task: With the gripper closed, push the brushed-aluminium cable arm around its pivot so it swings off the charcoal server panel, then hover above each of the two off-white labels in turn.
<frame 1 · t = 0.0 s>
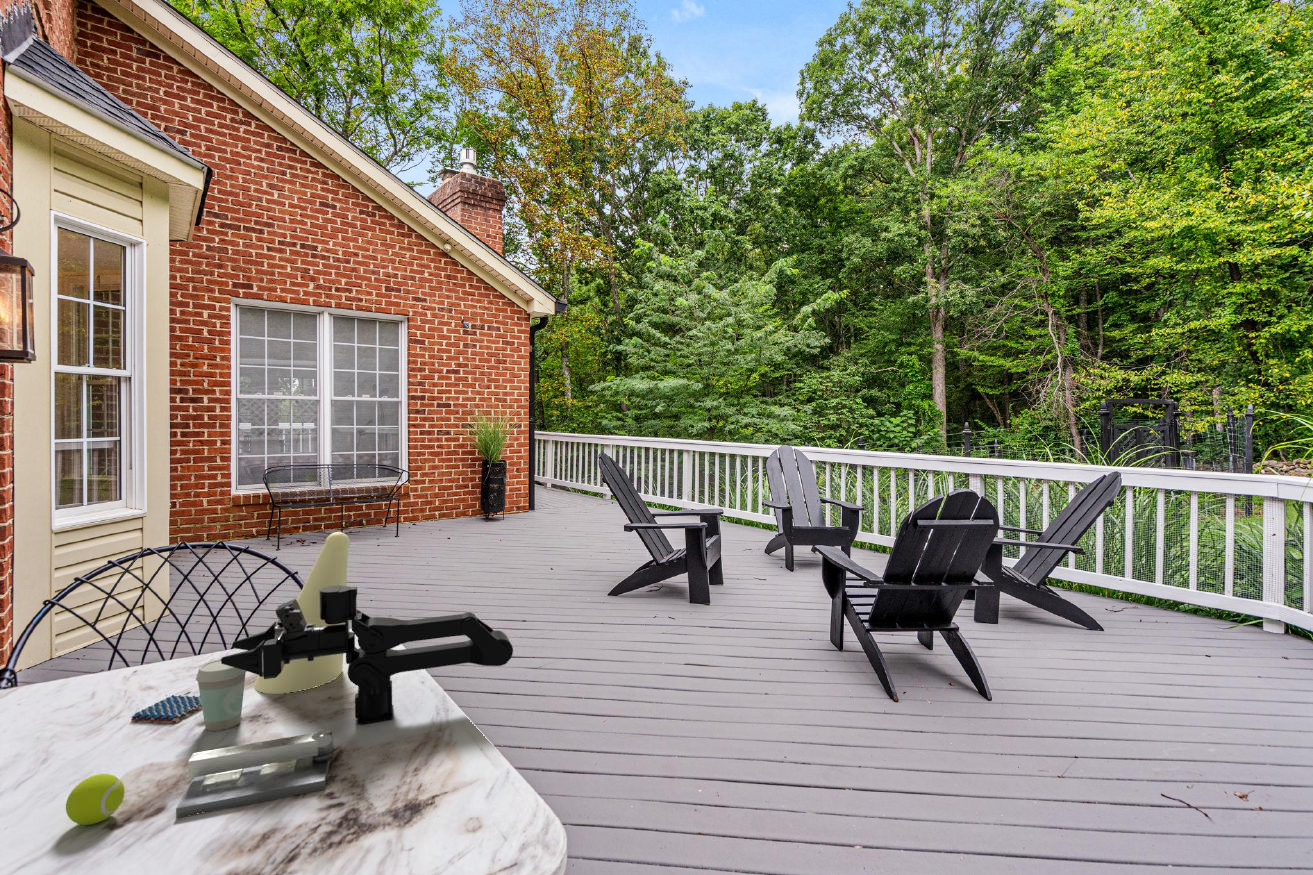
hand: (227, 652, 123), 17 cm above the table, tool horizontal, fingers open, 9 cm apart
woven mat: (174, 715, 136), on the table
coffee cup: (223, 725, 130), on the table
server panel: (262, 777, 110), on the table
cone light: (308, 680, 152), on the table
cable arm: (264, 752, 110), point 4 cm above the table, hinge at 0.0°
tennis ball: (96, 822, 98), on the table
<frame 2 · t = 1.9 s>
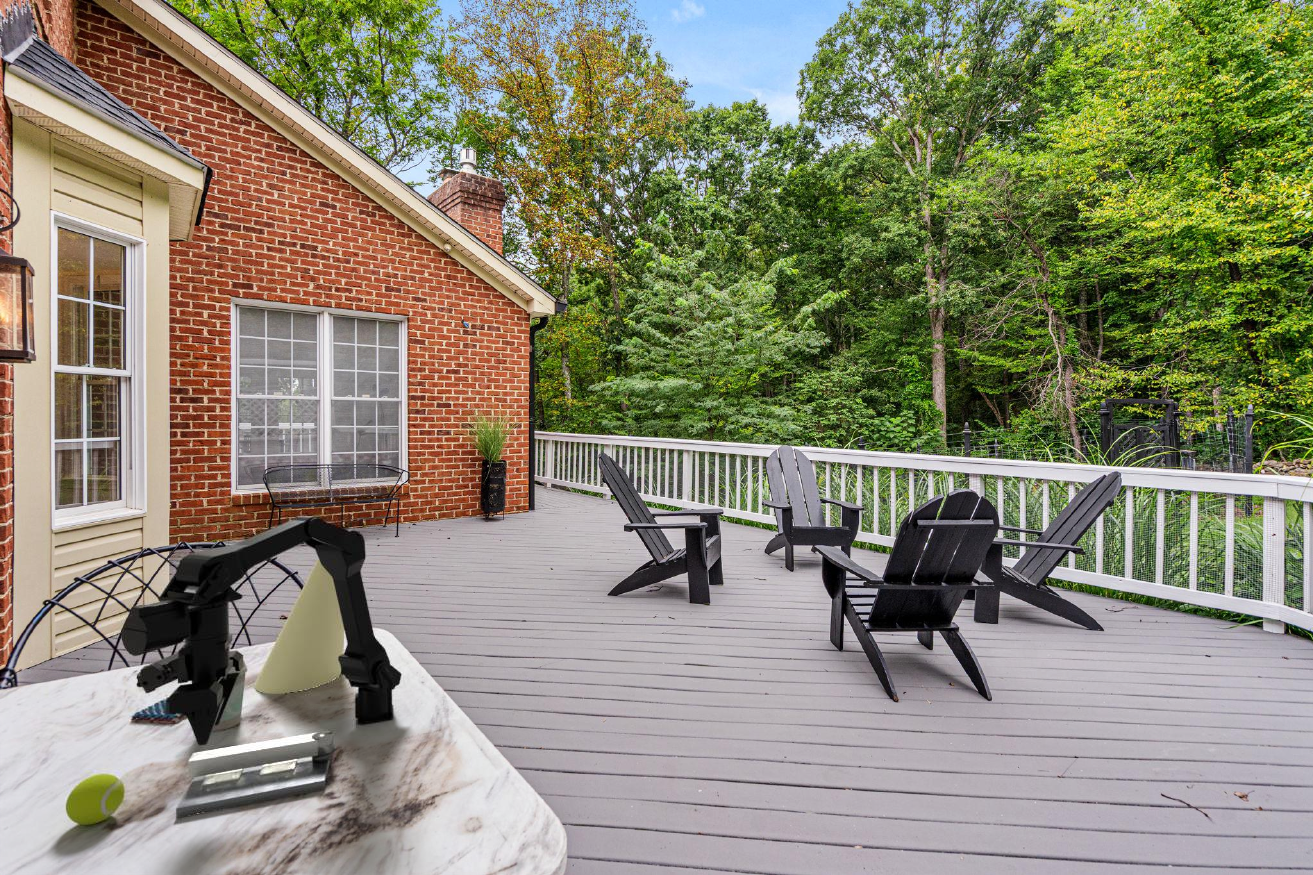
hand: (209, 734, 102), 11 cm above the table, tool pointing down, fingers open, 7 cm apart
nothing on the table moved.
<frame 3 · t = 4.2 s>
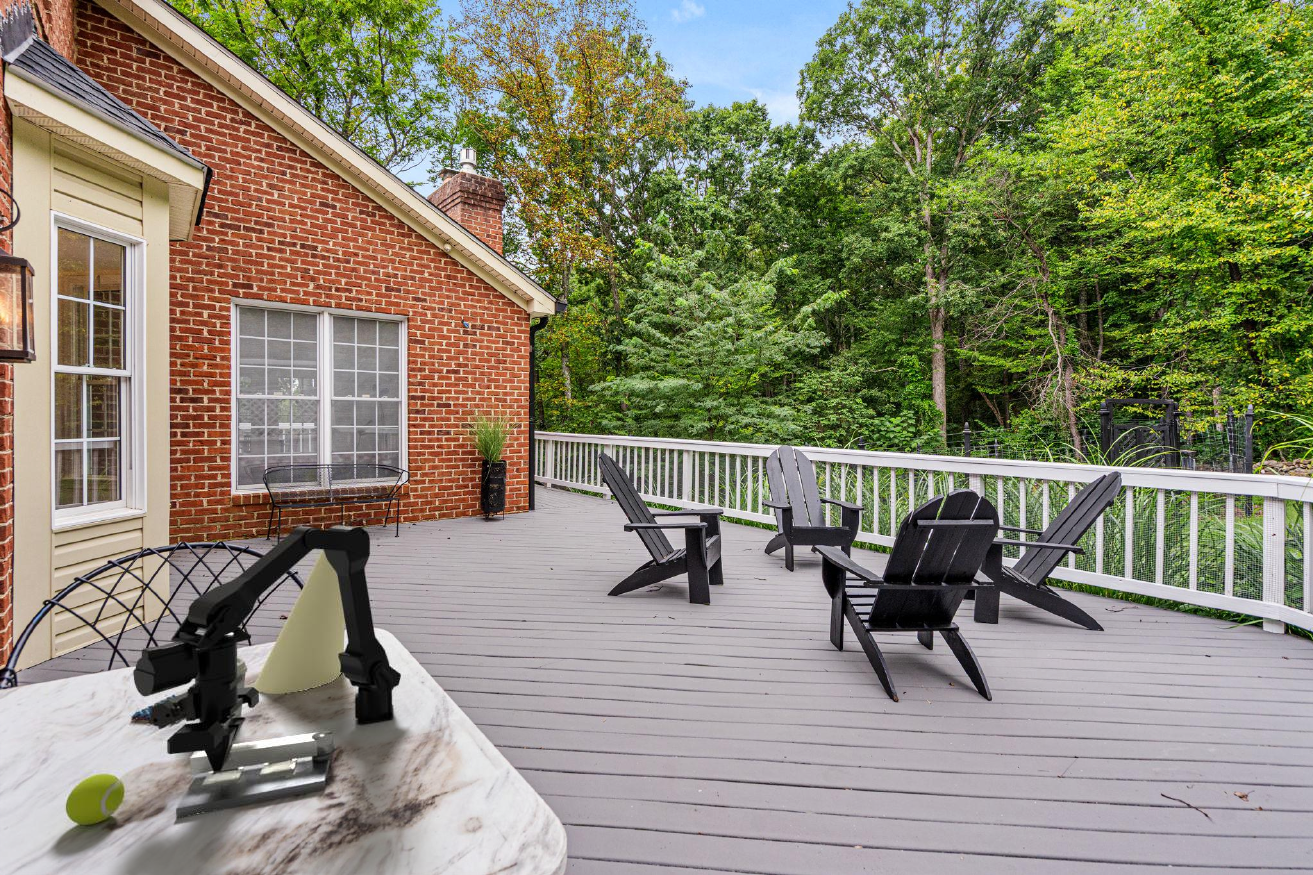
hand: (217, 770, 105), 3 cm above the table, tool pointing down, fingers closed
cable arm: (264, 751, 110), point 4 cm above the table, hinge at -3.5°, touching gripper
everything else where it was.
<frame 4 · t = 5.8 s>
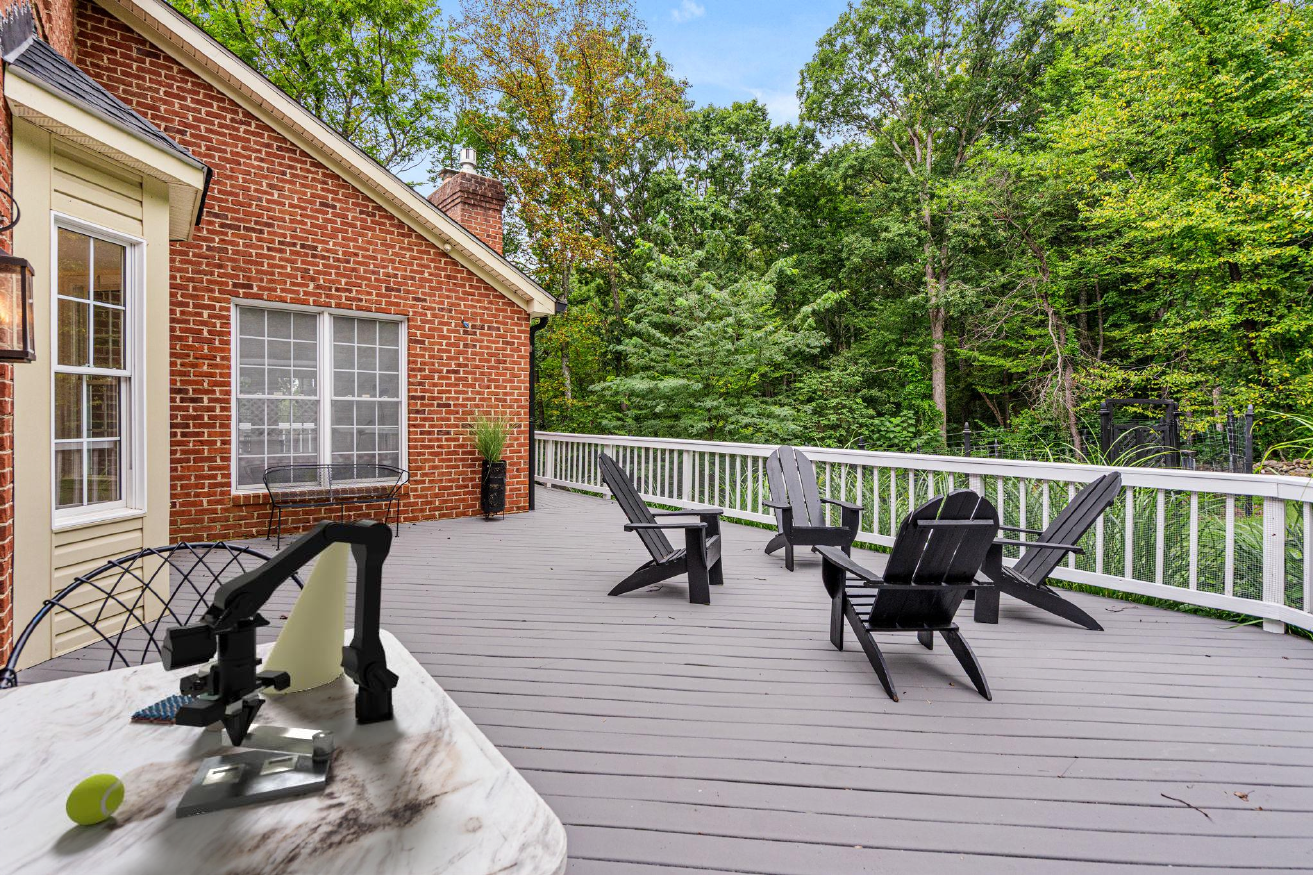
hand: (236, 746, 113), 4 cm above the table, tool pointing down, fingers closed
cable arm: (278, 738, 115), point 4 cm above the table, hinge at -33.5°, touching gripper
everything else where it was.
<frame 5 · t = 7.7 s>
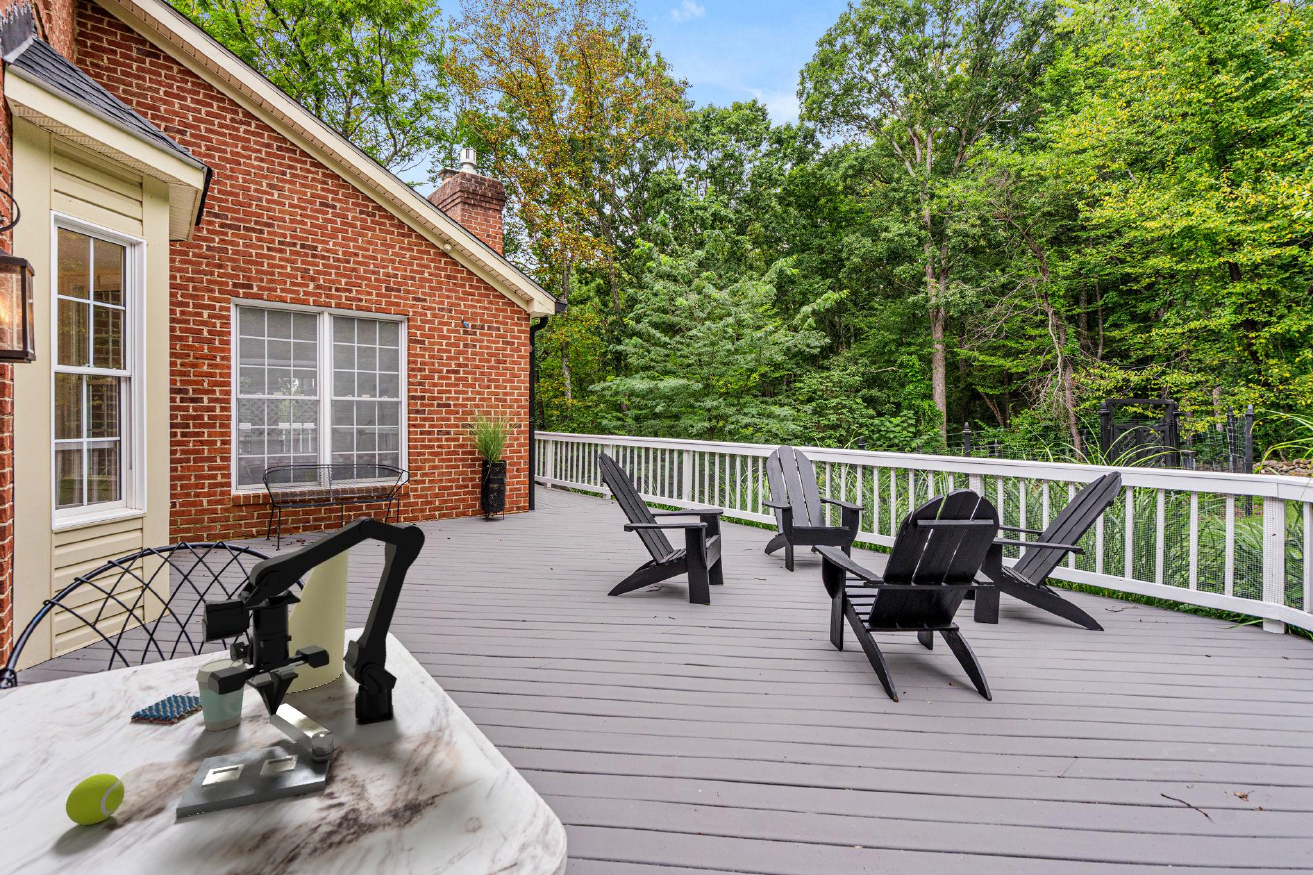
hand: (272, 714, 120), 6 cm above the table, tool pointing down, fingers closed
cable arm: (300, 728, 118), point 4 cm above the table, hinge at -61.4°
everything else where it was.
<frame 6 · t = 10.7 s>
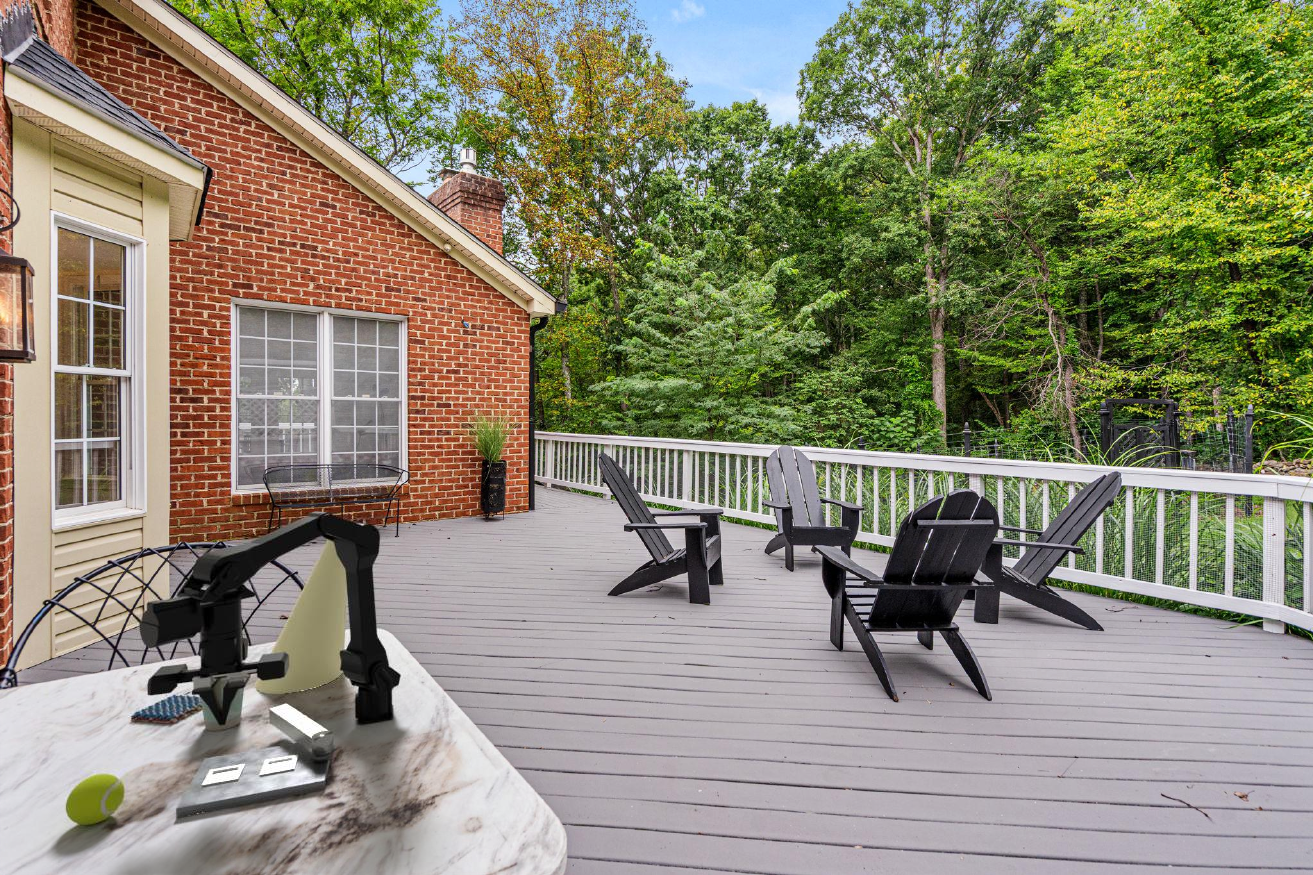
hand: (223, 724, 107), 10 cm above the table, tool pointing down, fingers closed
nothing on the table moved.
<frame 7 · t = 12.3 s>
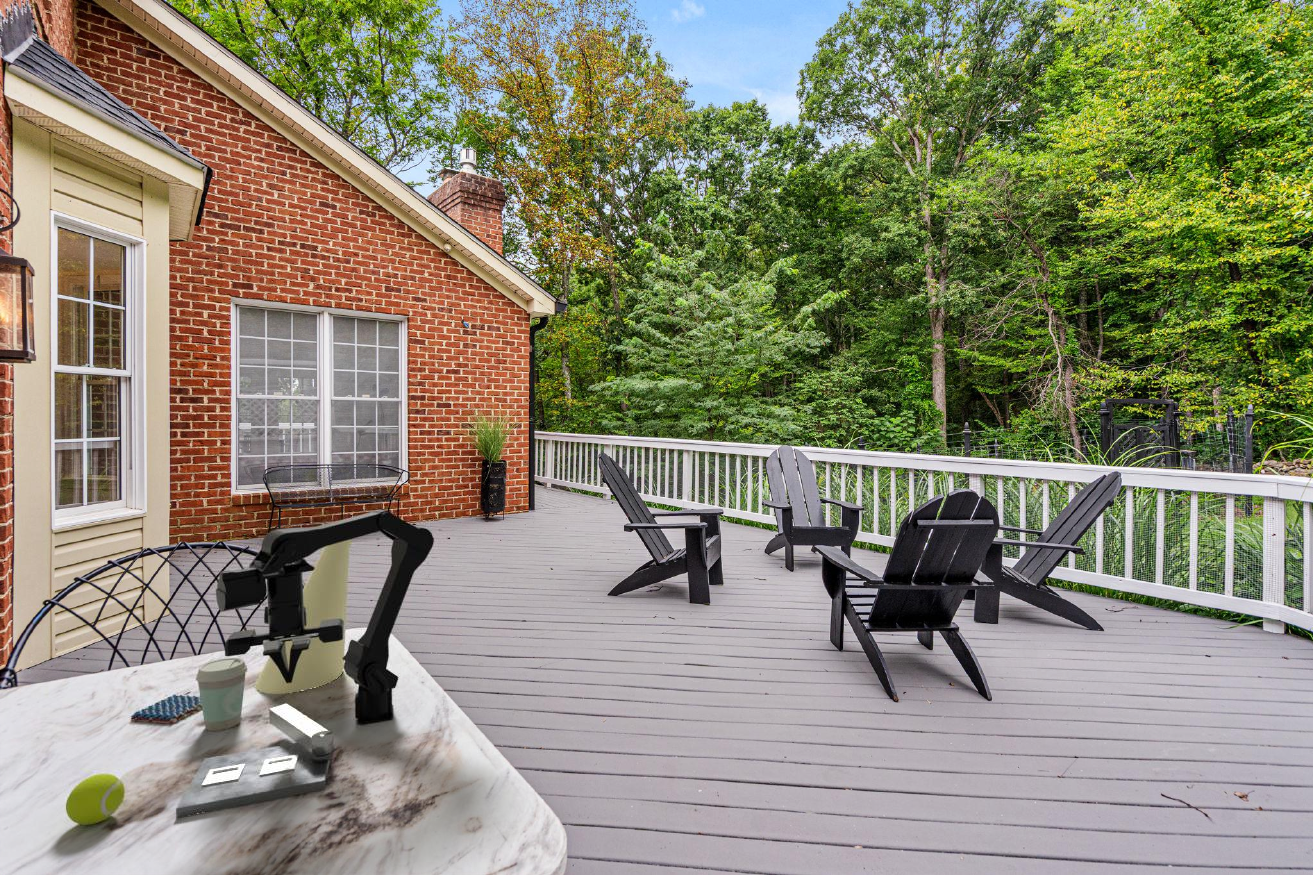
hand: (289, 682, 121), 12 cm above the table, tool pointing down, fingers closed
nothing on the table moved.
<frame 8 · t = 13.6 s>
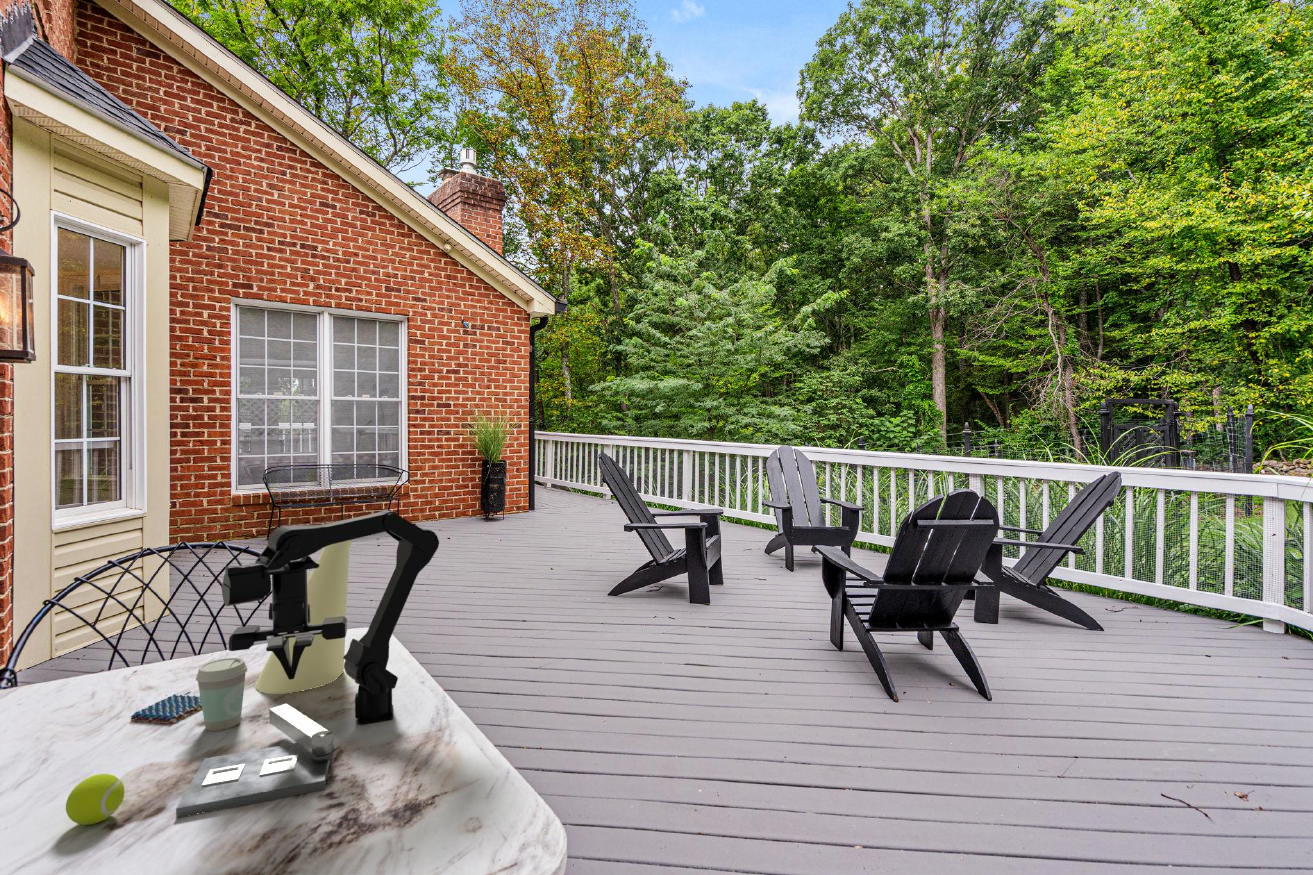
hand: (291, 678, 122), 12 cm above the table, tool pointing down, fingers closed
nothing on the table moved.
at the end: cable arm at -61° (first picture: +0°); tennis ball moved 0.2 cm from its start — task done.
